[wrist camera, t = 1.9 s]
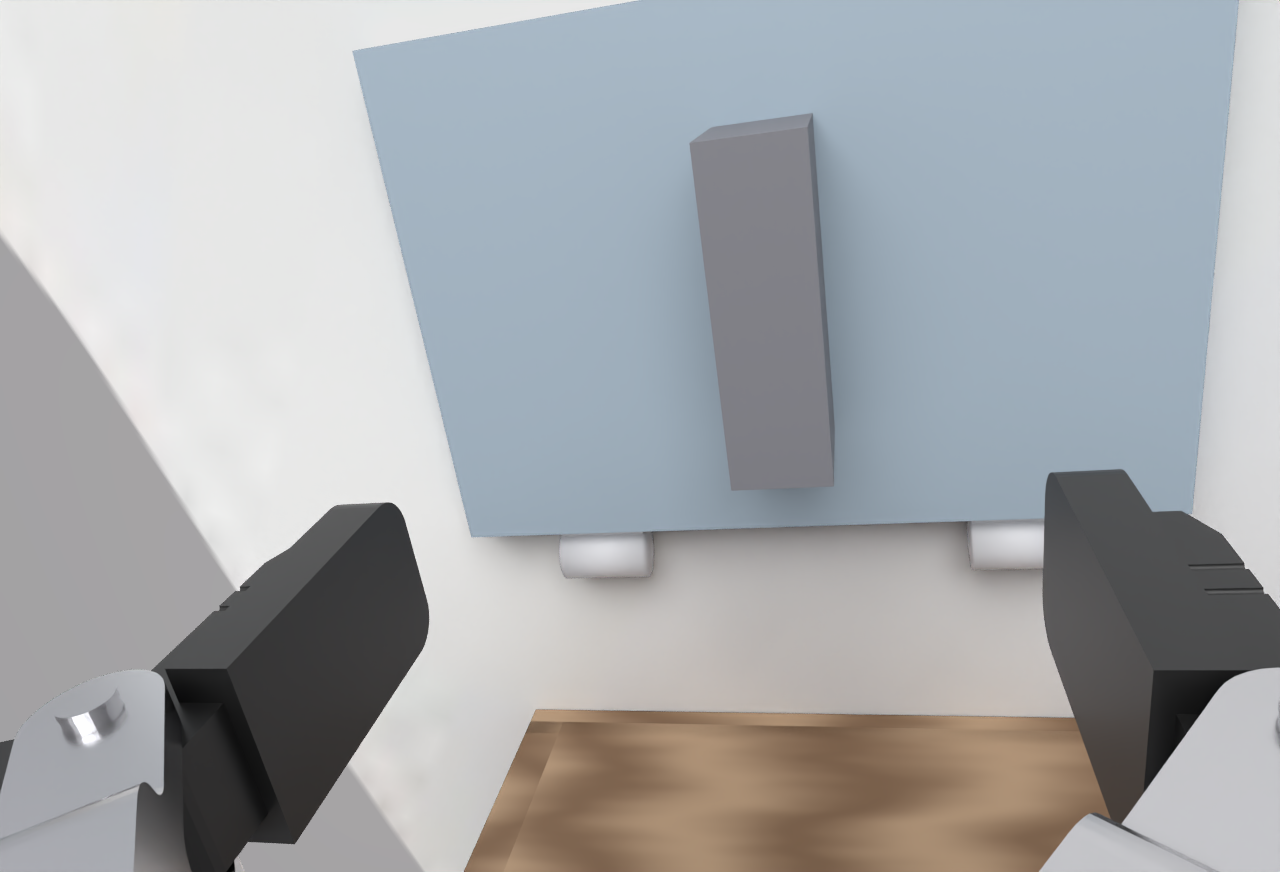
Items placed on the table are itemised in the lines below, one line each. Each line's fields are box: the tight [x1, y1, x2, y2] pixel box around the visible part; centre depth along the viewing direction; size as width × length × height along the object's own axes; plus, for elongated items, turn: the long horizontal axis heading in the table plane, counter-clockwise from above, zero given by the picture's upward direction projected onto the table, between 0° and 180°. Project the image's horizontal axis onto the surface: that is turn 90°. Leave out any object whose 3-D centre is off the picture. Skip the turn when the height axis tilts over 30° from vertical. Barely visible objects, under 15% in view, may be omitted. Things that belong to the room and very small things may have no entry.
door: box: [353, 0, 1239, 578], centre depth 23 cm, size 20×16×5 cm
